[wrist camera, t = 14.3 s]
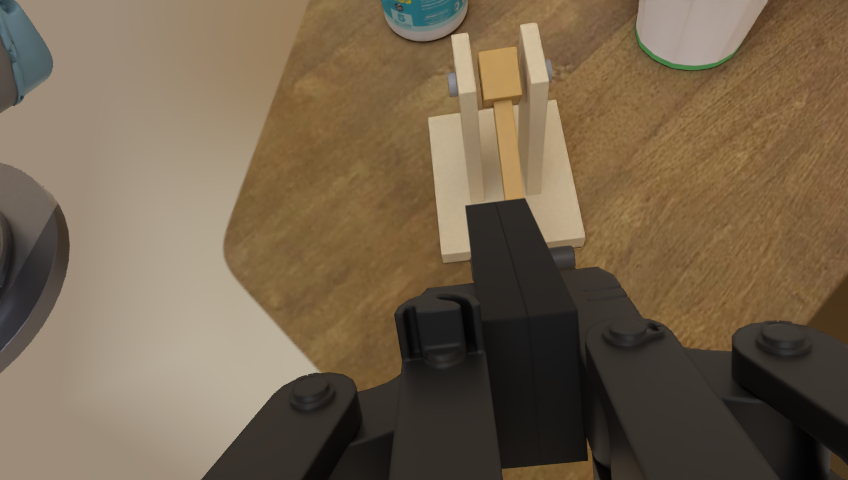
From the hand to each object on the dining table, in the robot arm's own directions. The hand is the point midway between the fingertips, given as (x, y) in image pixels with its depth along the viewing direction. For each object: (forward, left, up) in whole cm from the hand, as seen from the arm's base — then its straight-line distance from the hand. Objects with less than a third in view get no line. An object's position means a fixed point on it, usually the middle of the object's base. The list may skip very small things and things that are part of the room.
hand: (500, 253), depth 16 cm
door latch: (-4, +18, -27) cm, 33 cm away
